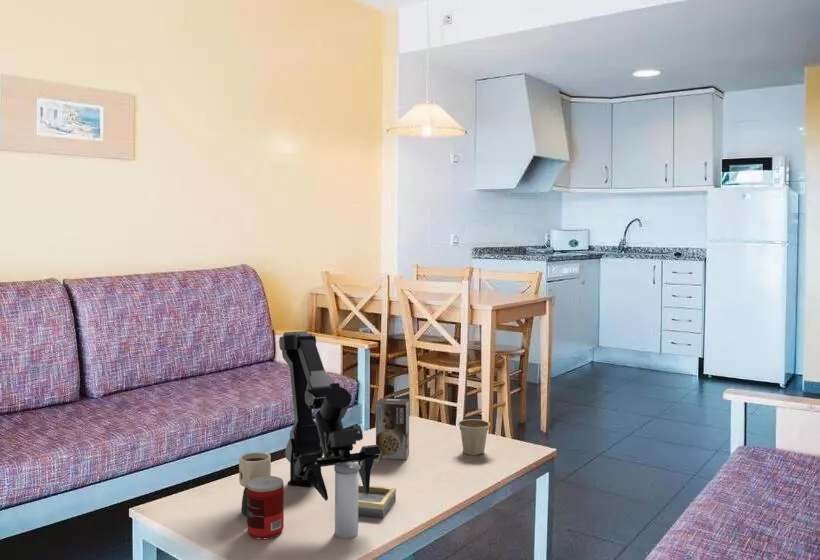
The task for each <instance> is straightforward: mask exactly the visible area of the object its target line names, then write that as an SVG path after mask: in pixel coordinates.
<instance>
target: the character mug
mask: <svg viewBox="0 0 820 560" xmlns="http://www.w3.org/2000/svg"><path fill="white" fill-rule="evenodd" d="M271 458H272V457H271V454H269V453H268V452H267V453H266V452H261V451H257V452H248V453H245V454H242V455H240V456H239V458H238V468H239V469H238V471H239V475H238V476H239V479H238V483H239V485H241V486H242V487H244V489H243V492H242V498H241V499H242V500H241V508H240V509H241V513H242V514H245V515H247V483H248V481H250V480H251V479H254V478H257V477H261V476H272V474H271V473H272V472H271V471H272V470H271V469H272V465H271V464H272V462H271V461H272V460H271Z"/></svg>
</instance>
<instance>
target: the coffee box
mask: <svg viewBox="0 0 820 560" xmlns="http://www.w3.org/2000/svg"><path fill="white" fill-rule="evenodd" d="M375 445H377V446H379V447H380V449H381V452H382V456H381V458H380V459H388V460H389V459H392V460H407V459H408V457H409V455H410V398H409V399H407V398H385V397H384V398H383V397H382V398H381V397H380V398H379V399H378V400H377V401H376V403H375Z"/></svg>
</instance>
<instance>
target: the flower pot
mask: <svg viewBox="0 0 820 560" xmlns="http://www.w3.org/2000/svg"><path fill="white" fill-rule="evenodd" d="M457 425H458V426H459V430H460V436H461V443H462V444H461V445H462V452H463V453H464V454H467V455H469V454H471V455H470V456H478V454H479V455H480V454H481V453H482V455H483V454H484V453H485V448H486V443H487V442H486V441H487V435H488V434H487V433H488V431H489V427H490V426H491V423H490V422H489V421H486V420H483V419H477V418H476V419H473V418H472V419H464V420H463V419H462V420H460V421H458V422H457Z"/></svg>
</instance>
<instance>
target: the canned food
mask: <svg viewBox="0 0 820 560" xmlns="http://www.w3.org/2000/svg"><path fill="white" fill-rule="evenodd" d="M284 486H285V485H284V479H283V478H281V477H279V476H275V475H271V476H261V477H257V478H254V479H251V480H250V481H248V483H247V514H246V520H247V521H246V524H247V525H246V530H247V534H248V536H249V537H251V538H252V539H256V538H260V539H259V540H265V539H264V538H269V539H272V538H271V537H273V538H276V537H278V536H279V535H280V533H281V534H282V533H283V530H284V524H285V523H284V520H285V518H284V517H285V515H284V512H285V509H284V508H285V507H284V506H285V505H284V504H285V502H284V500H285V499H284V497H285V495H284V493H285V491H284V490H285V489H284ZM277 535H278V536H277ZM275 536H276V537H275Z"/></svg>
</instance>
